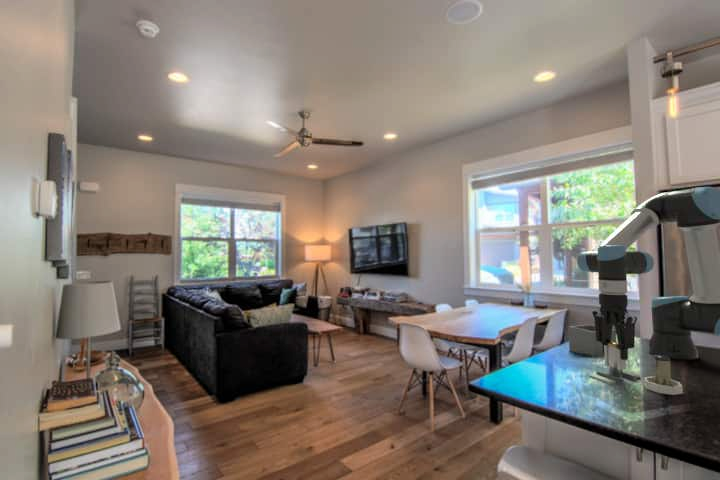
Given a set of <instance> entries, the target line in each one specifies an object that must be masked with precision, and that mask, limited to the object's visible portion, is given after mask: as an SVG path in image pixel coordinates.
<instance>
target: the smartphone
mask: <svg viewBox="0 0 720 480" xmlns="http://www.w3.org/2000/svg"><path fill="white" fill-rule="evenodd" d="M574 354H575V355H577V356H578V355H579V356H583V357H588V358H597V357H600V356H594V357H593V356H592V355H589V354H585V353H582V352H578V351H577V352H574Z"/></svg>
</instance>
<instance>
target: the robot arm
mask: <svg viewBox="0 0 720 480" xmlns="http://www.w3.org/2000/svg"><path fill="white" fill-rule="evenodd" d="M666 223H676V226H677V229H679V230H681V231H683V236H684V242H685V248H686V256H687V260H688V261H687V262H688V268H689V273H690V279H691V285H692V290H693V294H692V295H691V296H690V297H689V296H686V295H682V296H681V295H678V296H677V295H676V296H673V295H672V296H657V297H656V296H655V297H653V299H652V301H651V306H650V307H651V309H650V310H651V320H652V321H651V322H652V334H651V338H650V340H649V343H648V345H647V348H648V349H647V350H648V353H650V354H651V355H653V356H654V355H663V356H667V357H670V359H675V360H684V361H685V360H697V359H699V351H698V350H697V347H696V345H695V343H694V340H693V338H692V333H699V334H704V335H705V334H706V335H712V336H715V337H720V248H719V247H720V246H719V242H718V241H719V240H718V235H717V227H719V225H720V190H719V189H718V188H716V187H713V186H701V187H698V186H697V187H693V188H692V187H691V188H686V189H681V190H673V191H667V192H661V193H659V194H656V195H654V196H652V197H650V198H647V200H645V201H643V202H642V203H641V204H639V205H638V206H637V207H635V208H634V209H633V210H632V211H631V213H630V216H629V218H627V219H626V220H625V221H624V222H623V223H622V224H620V225H619V226H618V227H616V229H615V230H614V231H612V232H611V234H609V235H608V236H607V237H605V239H604V240H602V241H601V242H600V243H599V244H598V245H597V246H595V248H594V249H592V250H591V251H589V250H587V251H582V252H580V253H579V254H578V256H577V258H576V263H577V266H578V268H579V270H581V271H583V272H588V273H591V274H592V273H598V277H597V278H598V292H600V293H599V294H598V304H599V305H600V307H599V310H592V312H591V313H592V316H593V320H594V326H595V331H596V340H597V341H599V342H601V343H602V346H603V354H605V356H604V366H605V367H609V363H608V342H611V334H612V329H613V327H614V330H616V340H617V343H618V344H619V347H617V370H623V371H625V370H627V360H628V359H629V355H628V354H629V352H628V350H629V349H634V348H635V342H636V341H635V340H636V338H635V335H636V323H637V321H638V317H637V316H633V315H631V314H629V312H628V310H627V308H628V306H629V304H628V299H629V298H628V295H627V293H628V279H627V275H643V274H647V273H649V272H651V271H652V270H653V268H654V265H655V261H654V258H653V256H652V255H651V253H648V252H646V251H643V250H642V251H641V250H633V251H632V250H631V251H630V250H629V251H628V249H629V248H630V247H632V245H634V243H635V242H636V241H638V240H639V239H640V238H641V237H642V236H643V235H644V234H646V233H647V231H649V230H653V229H655V228H656V227H657V226H658V225H660V224H666Z"/></svg>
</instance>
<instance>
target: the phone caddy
mask: <svg viewBox="0 0 720 480" xmlns="http://www.w3.org/2000/svg"><path fill="white" fill-rule="evenodd" d="M611 342H616V343H617V334H616V329H615V328H614V329H613V328H612V334H611ZM568 344H569V345H568V346H569V351H571V352H574V353H575V352H577V351H578V352H582V353H585V354H589V355H592V356H593V357H592V358H595V357H594V356H599V357H605V354H603V346H602V343H601V342H599V341H597V340H596V331H595V324H594V325H593V324H583V325H582V324H581V325H571V326H569V325H568Z"/></svg>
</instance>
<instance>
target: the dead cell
mask: <svg viewBox="0 0 720 480" xmlns="http://www.w3.org/2000/svg"><path fill="white" fill-rule="evenodd" d="M653 364H654V365H653V366H654V377H655V384H658V385H666V386H671V380H672V377H671V376H672V375H671V374H672V373H671V358H670V357H667V356H663V355H654V354H653Z"/></svg>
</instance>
